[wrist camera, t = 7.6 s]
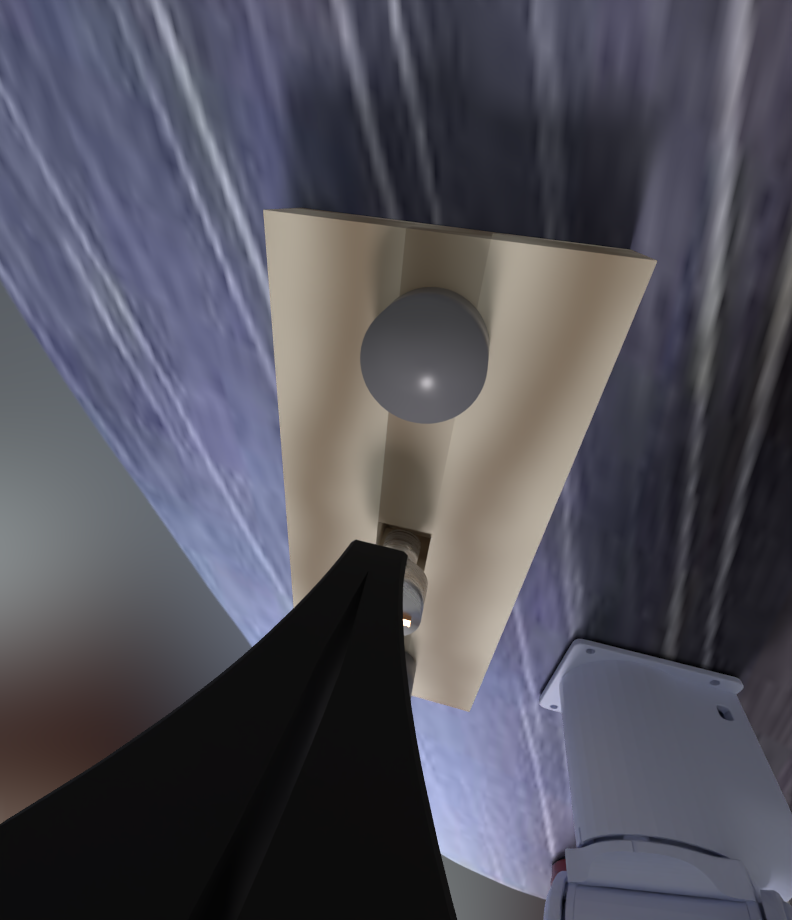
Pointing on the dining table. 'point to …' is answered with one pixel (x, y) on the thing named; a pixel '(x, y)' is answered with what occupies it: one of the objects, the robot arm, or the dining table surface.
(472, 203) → the dining table surface
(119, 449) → the dining table surface
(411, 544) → the pot knob
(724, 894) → the robot arm
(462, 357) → the knob front
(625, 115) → the dining table surface
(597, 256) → the mount board
